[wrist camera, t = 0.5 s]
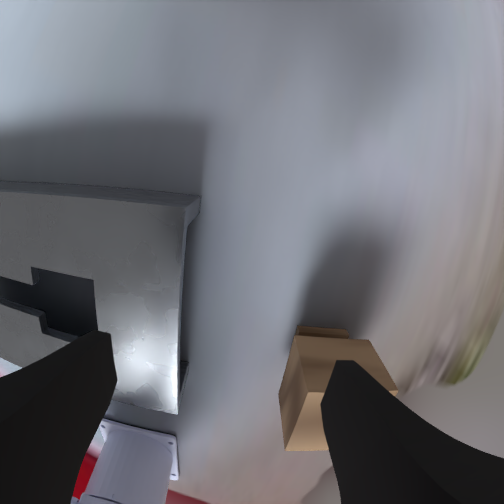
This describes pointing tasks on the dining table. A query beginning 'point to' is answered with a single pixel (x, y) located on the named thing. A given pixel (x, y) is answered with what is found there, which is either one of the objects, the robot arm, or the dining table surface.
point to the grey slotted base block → (102, 277)
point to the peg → (319, 381)
